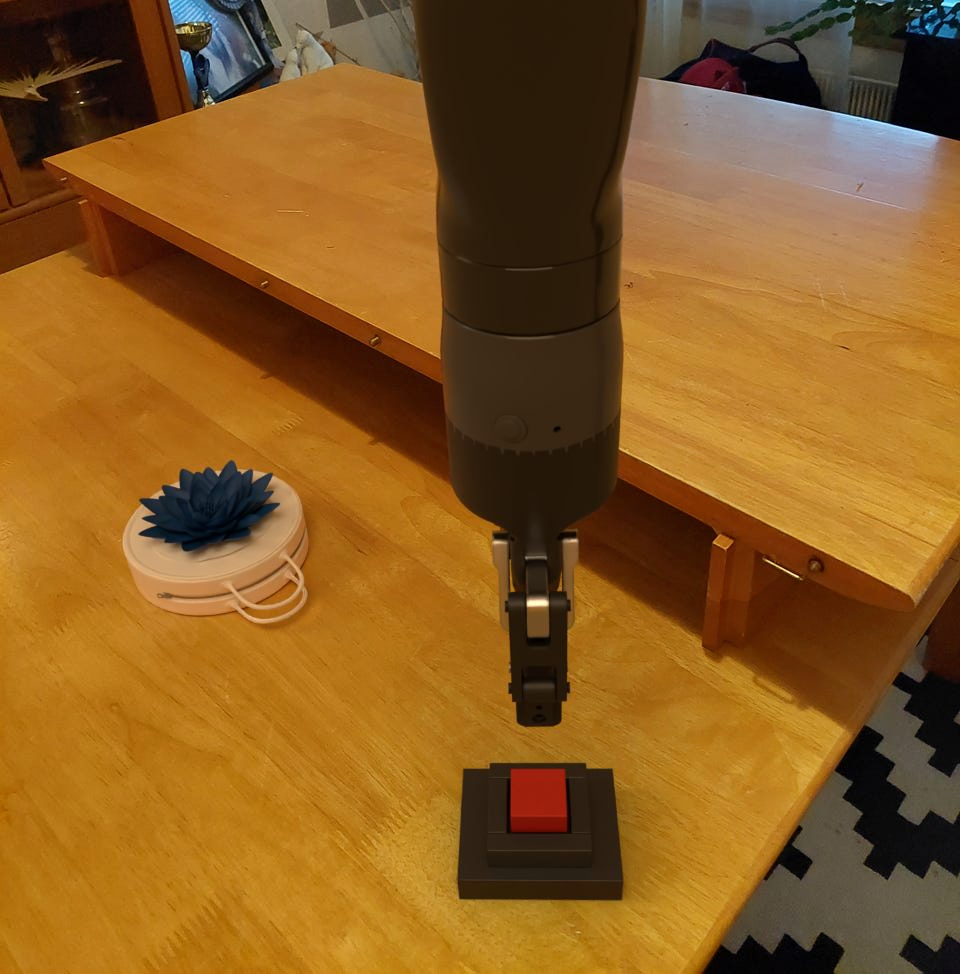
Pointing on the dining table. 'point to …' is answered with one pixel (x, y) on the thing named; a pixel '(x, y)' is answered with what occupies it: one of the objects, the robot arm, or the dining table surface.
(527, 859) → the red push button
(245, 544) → the lotus flower trinket box
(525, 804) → the red button cap
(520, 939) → the dining table surface
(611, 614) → the dining table surface
